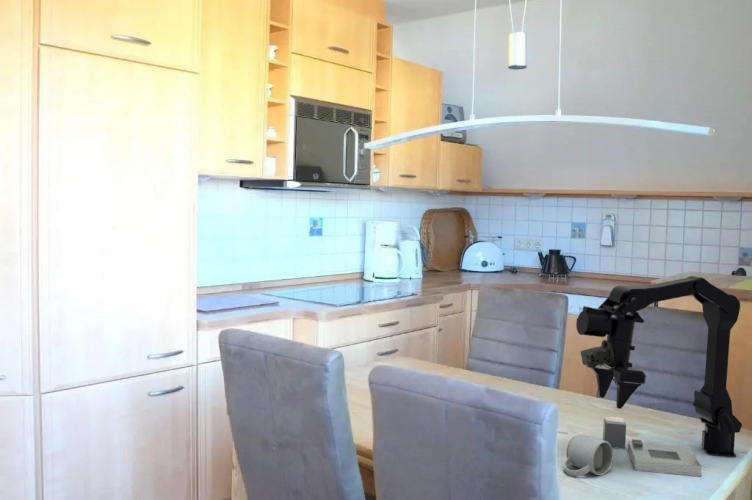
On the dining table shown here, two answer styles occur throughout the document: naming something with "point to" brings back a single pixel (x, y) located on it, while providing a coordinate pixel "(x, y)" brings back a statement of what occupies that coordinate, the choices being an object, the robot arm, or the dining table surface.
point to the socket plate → (663, 458)
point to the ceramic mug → (588, 456)
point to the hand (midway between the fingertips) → (610, 402)
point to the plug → (614, 432)
